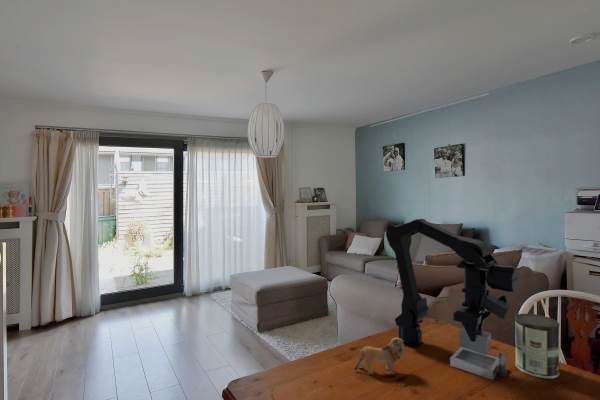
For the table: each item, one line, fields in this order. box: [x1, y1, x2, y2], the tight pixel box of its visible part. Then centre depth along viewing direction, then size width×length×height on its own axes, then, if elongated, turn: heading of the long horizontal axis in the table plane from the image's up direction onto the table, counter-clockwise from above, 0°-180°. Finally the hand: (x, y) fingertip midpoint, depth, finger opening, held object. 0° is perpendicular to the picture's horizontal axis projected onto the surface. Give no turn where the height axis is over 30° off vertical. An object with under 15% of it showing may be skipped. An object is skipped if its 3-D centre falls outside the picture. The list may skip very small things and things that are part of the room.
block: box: [459, 326, 492, 355], centre depth 96 cm, size 7×4×5 cm, turn 47°
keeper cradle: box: [449, 346, 507, 381], centre depth 95 cm, size 13×9×6 cm
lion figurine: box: [353, 336, 406, 375], centre depth 95 cm, size 15×5×9 cm, turn 95°
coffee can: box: [514, 313, 560, 380], centre depth 94 cm, size 10×10×14 cm
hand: (475, 338), depth 96 cm, fingers closed on block, 4 cm apart
